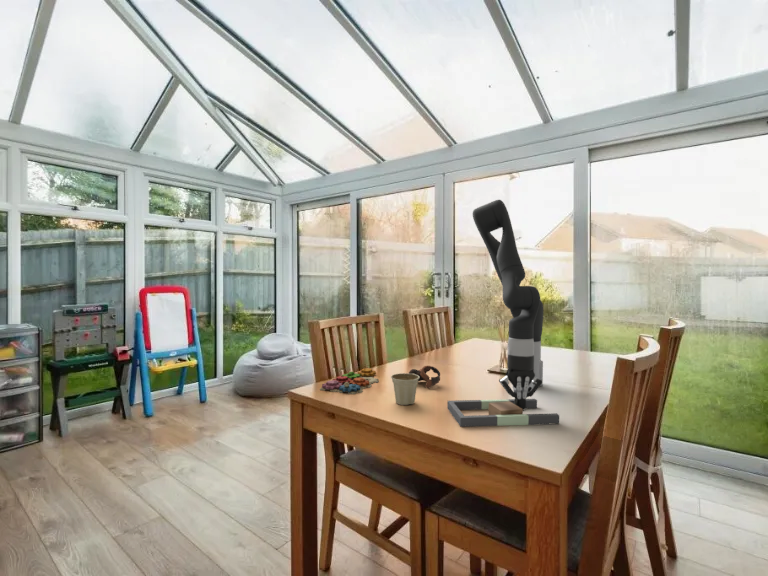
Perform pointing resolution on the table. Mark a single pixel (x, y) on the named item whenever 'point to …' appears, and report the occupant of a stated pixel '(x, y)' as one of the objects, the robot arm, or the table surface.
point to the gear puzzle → (351, 382)
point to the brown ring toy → (425, 377)
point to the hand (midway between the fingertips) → (519, 410)
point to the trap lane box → (497, 419)
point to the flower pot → (405, 387)
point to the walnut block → (504, 408)
